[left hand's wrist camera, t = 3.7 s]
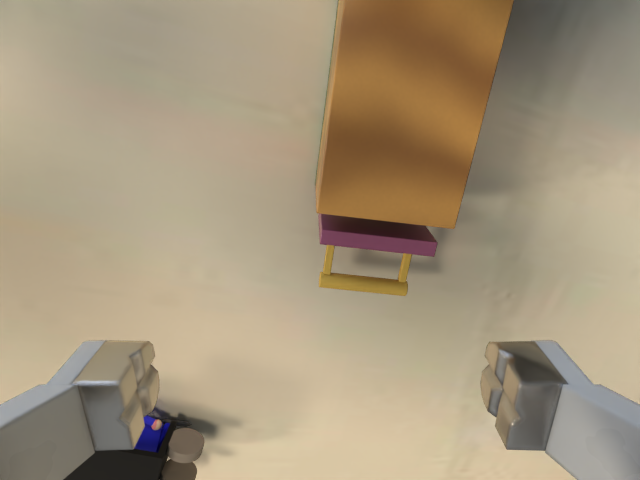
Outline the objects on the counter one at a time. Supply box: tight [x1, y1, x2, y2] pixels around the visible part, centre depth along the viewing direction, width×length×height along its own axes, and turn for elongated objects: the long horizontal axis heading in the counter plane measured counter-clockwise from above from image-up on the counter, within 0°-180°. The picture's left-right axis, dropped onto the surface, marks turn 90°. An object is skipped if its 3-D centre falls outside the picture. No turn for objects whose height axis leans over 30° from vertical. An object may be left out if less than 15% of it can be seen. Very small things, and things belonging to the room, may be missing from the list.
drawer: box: [318, 213, 437, 296], centre depth 32 cm, size 26×9×6 cm, turn 173°
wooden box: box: [315, 0, 514, 229], centre depth 30 cm, size 22×10×8 cm, turn 173°
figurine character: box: [63, 415, 204, 480], centre depth 44 cm, size 7×8×15 cm
